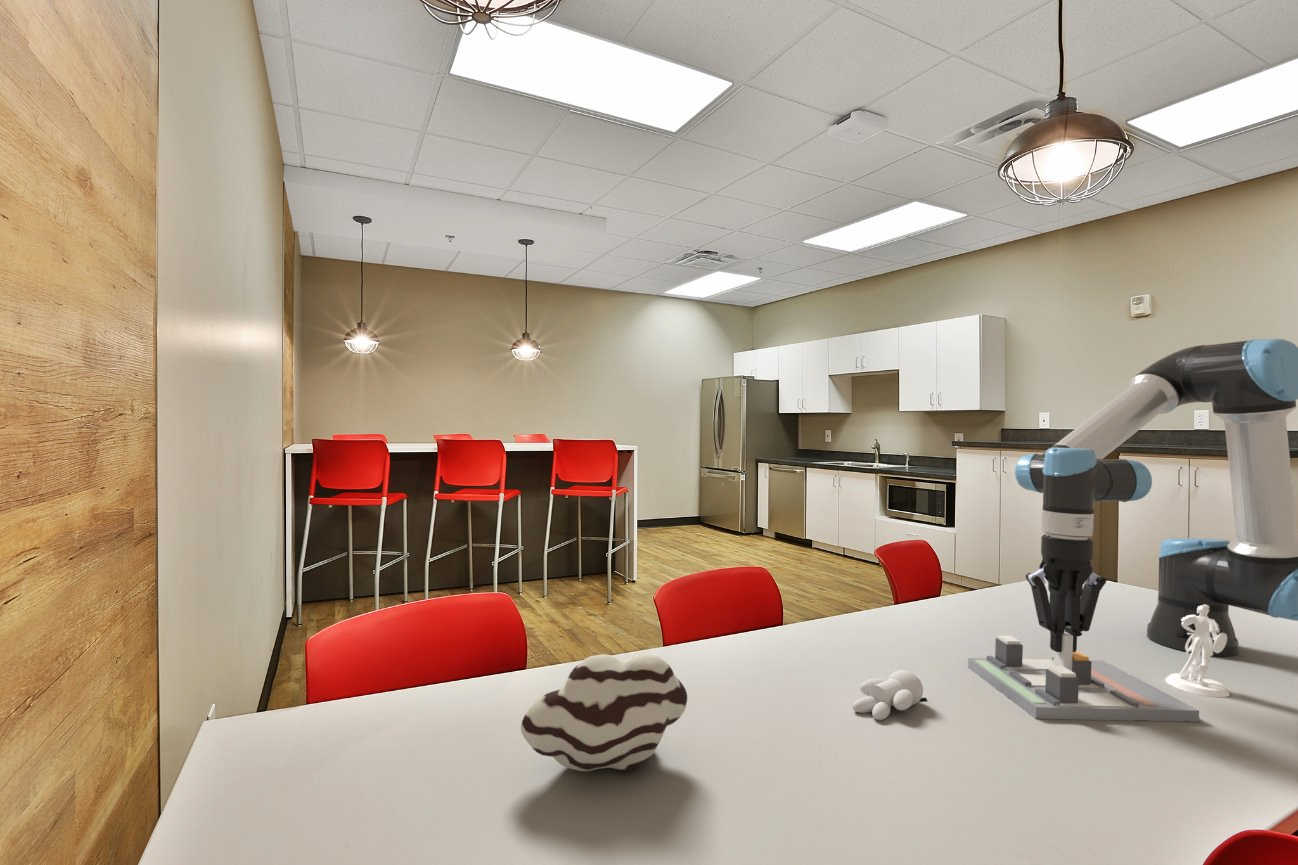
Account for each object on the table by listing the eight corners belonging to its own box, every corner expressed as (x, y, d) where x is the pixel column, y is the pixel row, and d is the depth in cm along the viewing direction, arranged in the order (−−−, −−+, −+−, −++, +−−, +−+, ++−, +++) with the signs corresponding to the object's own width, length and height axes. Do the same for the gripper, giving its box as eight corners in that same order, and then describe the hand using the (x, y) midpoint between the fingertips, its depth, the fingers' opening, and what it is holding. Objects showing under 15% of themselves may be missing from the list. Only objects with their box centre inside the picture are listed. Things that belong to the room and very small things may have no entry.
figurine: (1242, 694, 111) (1245, 609, 111) (1208, 699, 108) (1211, 613, 108) (1186, 674, 119) (1188, 596, 119) (1153, 679, 116) (1156, 599, 116)
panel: (1102, 669, 121) (1103, 656, 121) (1198, 721, 100) (1199, 706, 100) (967, 667, 120) (968, 654, 120) (1035, 718, 99) (1036, 702, 99)
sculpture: (673, 736, 91) (675, 633, 91) (704, 783, 79) (707, 666, 79) (516, 755, 85) (518, 646, 85) (524, 810, 73) (526, 683, 73)
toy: (883, 733, 95) (942, 707, 103) (884, 697, 95) (943, 673, 103) (840, 711, 102) (898, 688, 110) (840, 677, 102) (898, 656, 110)
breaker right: (1063, 693, 104) (1064, 665, 104) (1078, 702, 101) (1079, 674, 101) (1045, 692, 104) (1046, 665, 104) (1059, 702, 101) (1060, 674, 101)
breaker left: (1010, 659, 119) (1011, 635, 119) (1022, 666, 116) (1022, 641, 116) (995, 659, 119) (995, 635, 119) (1005, 666, 116) (1006, 641, 116)
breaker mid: (1076, 676, 112) (1077, 650, 112) (1090, 684, 108) (1091, 657, 108) (1059, 675, 112) (1060, 650, 112) (1073, 684, 108) (1074, 657, 108)
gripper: (1043, 539, 106) (1038, 677, 106) (1120, 540, 106) (1115, 679, 106) (1017, 531, 113) (1013, 660, 114) (1088, 532, 113) (1084, 662, 114)
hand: (1062, 669), depth 110 cm, fingers closed
